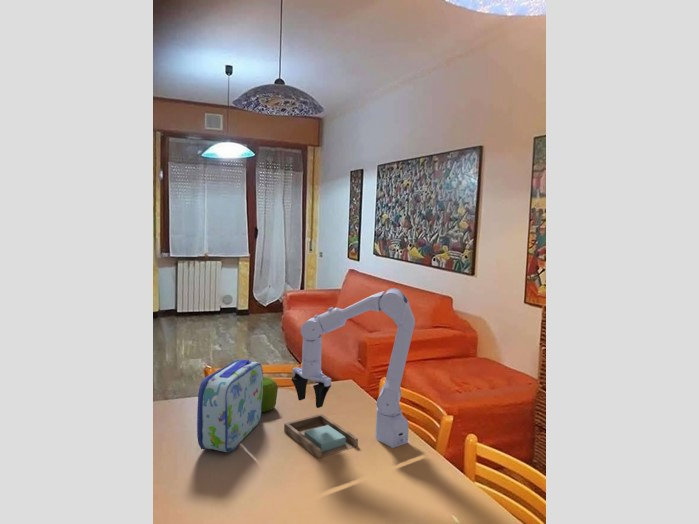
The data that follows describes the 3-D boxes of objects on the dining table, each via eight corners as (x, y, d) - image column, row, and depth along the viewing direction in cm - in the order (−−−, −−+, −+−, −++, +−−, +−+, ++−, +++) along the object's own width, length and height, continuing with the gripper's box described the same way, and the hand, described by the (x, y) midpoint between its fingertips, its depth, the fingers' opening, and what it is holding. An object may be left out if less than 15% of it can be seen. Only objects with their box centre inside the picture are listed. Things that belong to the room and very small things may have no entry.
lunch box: (234, 415, 150) (235, 351, 148) (266, 419, 148) (267, 354, 146) (191, 455, 124) (191, 378, 122) (228, 460, 122) (229, 383, 120)
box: (357, 448, 131) (358, 438, 131) (318, 461, 123) (318, 450, 123) (321, 423, 146) (321, 413, 146) (284, 433, 139) (284, 423, 138)
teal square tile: (345, 444, 132) (345, 437, 131) (321, 452, 127) (321, 444, 127) (327, 432, 139) (327, 424, 139) (304, 438, 134) (304, 431, 134)
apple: (236, 412, 152) (237, 380, 151) (253, 400, 162) (253, 370, 161) (268, 418, 149) (268, 385, 148) (282, 405, 159) (283, 374, 158)
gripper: (338, 361, 137) (337, 406, 139) (304, 351, 147) (303, 393, 148) (322, 366, 132) (320, 413, 133) (287, 355, 141) (286, 399, 143)
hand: (310, 403), depth 140 cm, fingers open, 7 cm apart
